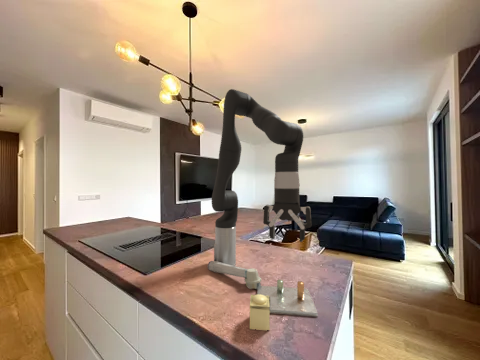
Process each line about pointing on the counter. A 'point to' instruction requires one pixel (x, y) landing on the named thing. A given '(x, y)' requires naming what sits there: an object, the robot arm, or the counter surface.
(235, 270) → the white handheld device
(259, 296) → the cube with dome bump
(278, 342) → the counter surface
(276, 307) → the plate
